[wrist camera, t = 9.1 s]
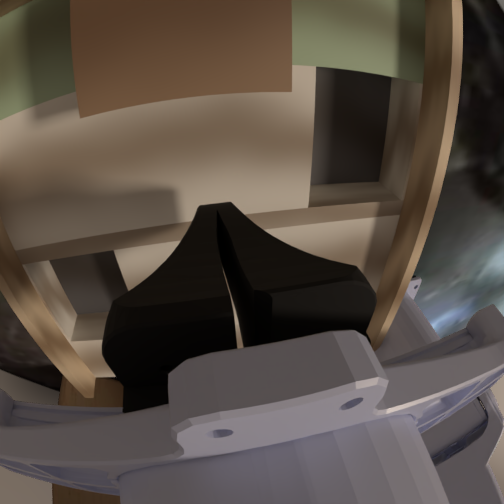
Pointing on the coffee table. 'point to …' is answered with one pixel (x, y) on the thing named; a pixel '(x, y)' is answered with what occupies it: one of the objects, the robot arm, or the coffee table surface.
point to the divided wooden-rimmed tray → (221, 163)
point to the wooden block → (105, 395)
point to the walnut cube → (177, 50)
